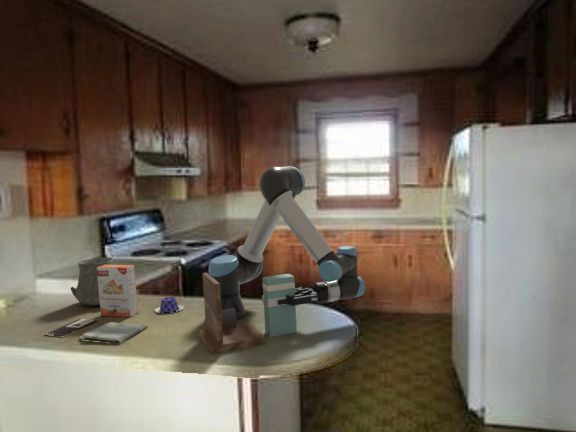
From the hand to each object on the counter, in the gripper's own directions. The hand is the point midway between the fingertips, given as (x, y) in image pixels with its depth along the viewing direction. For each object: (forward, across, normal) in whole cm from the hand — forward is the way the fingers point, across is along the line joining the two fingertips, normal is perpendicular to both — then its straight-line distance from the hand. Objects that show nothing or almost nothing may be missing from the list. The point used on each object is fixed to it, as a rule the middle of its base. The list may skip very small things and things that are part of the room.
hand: (265, 301), depth 163 cm
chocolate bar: (+64, +44, -13) cm, 79 cm away
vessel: (+53, +76, -12) cm, 94 cm away
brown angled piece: (+13, +1, -12) cm, 18 cm away
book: (-5, 0, -12) cm, 13 cm away
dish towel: (+49, +29, -13) cm, 59 cm away
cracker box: (+46, +52, -12) cm, 71 cm away
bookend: (+14, +7, -10) cm, 18 cm away
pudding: (+26, +49, -12) cm, 57 cm away
